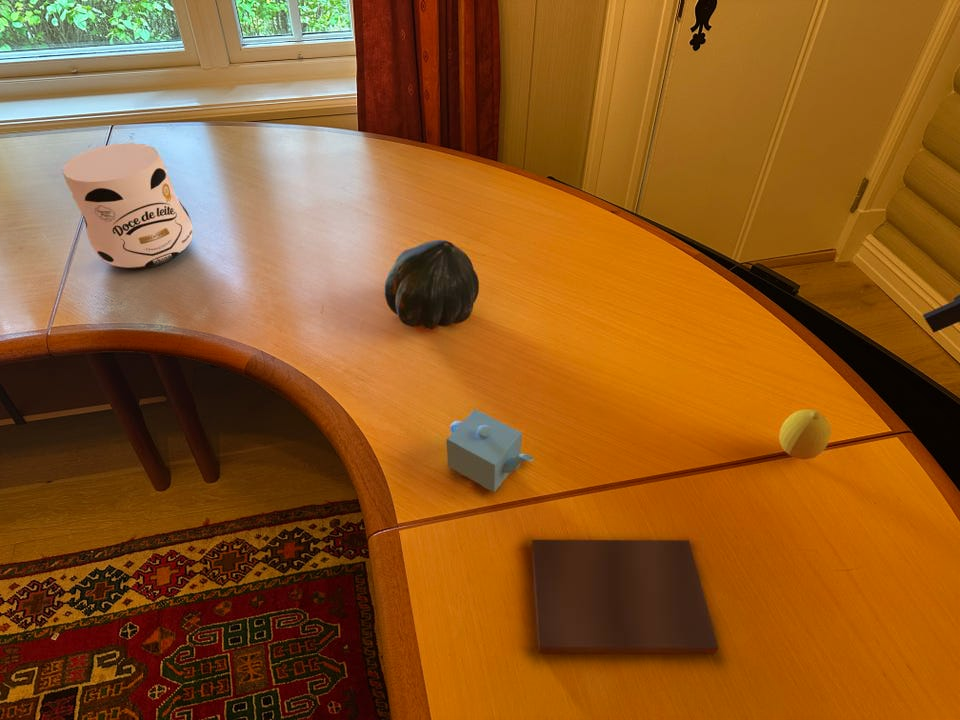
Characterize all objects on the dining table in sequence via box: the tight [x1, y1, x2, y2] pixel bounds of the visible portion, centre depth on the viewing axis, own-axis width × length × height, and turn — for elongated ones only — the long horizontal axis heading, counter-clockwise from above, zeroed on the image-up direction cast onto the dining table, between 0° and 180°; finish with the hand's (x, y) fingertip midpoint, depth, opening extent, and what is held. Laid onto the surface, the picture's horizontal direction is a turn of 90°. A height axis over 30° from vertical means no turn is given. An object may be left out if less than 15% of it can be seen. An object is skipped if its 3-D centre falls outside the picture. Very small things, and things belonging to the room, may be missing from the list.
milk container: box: [62, 142, 194, 270], centre depth 110 cm, size 17×17×18 cm
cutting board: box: [531, 539, 719, 655], centre depth 65 cm, size 18×12×2 cm, turn 90°
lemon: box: [778, 409, 832, 460], centre depth 77 cm, size 6×6×8 cm
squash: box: [384, 239, 480, 330], centre depth 97 cm, size 14×15×15 cm
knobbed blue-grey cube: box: [445, 408, 534, 493], centre depth 76 cm, size 12×6×8 cm, turn 56°
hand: (951, 363), depth 67 cm, fingers open, 13 cm apart
